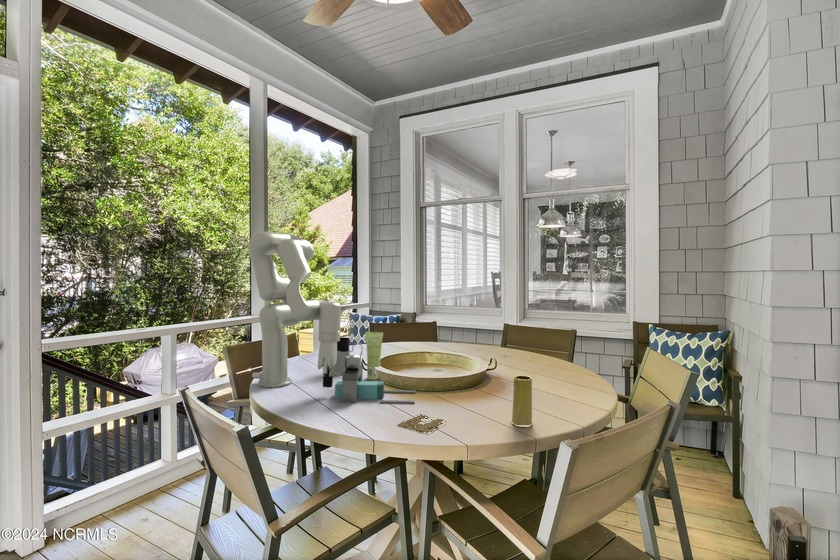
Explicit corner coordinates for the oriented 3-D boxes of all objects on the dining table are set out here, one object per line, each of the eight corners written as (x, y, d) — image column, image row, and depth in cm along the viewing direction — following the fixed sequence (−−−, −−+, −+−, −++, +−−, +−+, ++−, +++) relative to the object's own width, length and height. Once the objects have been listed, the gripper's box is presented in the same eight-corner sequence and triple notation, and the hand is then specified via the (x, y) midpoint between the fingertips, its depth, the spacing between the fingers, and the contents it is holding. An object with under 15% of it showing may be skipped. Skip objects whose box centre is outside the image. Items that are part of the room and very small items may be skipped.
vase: (509, 420, 134) (510, 375, 133) (528, 420, 134) (529, 374, 134) (515, 428, 127) (516, 380, 127) (535, 427, 128) (536, 380, 127)
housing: (342, 402, 149) (342, 359, 149) (349, 391, 162) (349, 351, 162) (356, 402, 149) (356, 359, 149) (362, 391, 162) (362, 351, 162)
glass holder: (334, 370, 194) (334, 336, 194) (364, 371, 192) (365, 337, 192) (327, 375, 186) (327, 340, 185) (359, 376, 184) (359, 341, 183)
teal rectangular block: (334, 398, 154) (335, 384, 154) (337, 394, 158) (337, 380, 158) (382, 399, 154) (382, 385, 153) (384, 395, 158) (384, 381, 158)
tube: (376, 376, 185) (376, 330, 184) (383, 378, 181) (383, 332, 180) (364, 378, 181) (365, 331, 180) (371, 380, 177) (371, 333, 176)
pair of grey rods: (379, 403, 149) (379, 401, 149) (383, 391, 162) (383, 390, 162) (414, 403, 149) (414, 402, 149) (415, 392, 162) (415, 390, 162)
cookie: (417, 415, 139) (417, 412, 139) (450, 423, 132) (450, 420, 132) (394, 426, 129) (394, 423, 129) (428, 436, 122) (428, 432, 122)
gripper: (323, 332, 163) (322, 380, 164) (313, 339, 148) (311, 392, 149) (343, 333, 163) (341, 381, 164) (335, 341, 148) (333, 393, 149)
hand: (327, 386), depth 156 cm, fingers closed
